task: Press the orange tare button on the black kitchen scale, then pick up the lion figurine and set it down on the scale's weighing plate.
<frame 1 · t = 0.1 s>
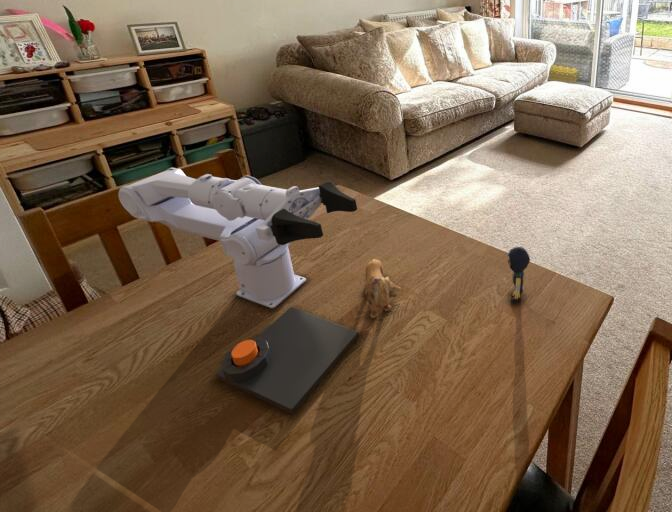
hand: (338, 217, 65), 22 cm above the table, tool horizontal, fingers open, 7 cm apart
tare button: (244, 352, 62), point 3 cm above the table, slide at 0.1 cm
scale: (292, 356, 65), on the table
character figure: (517, 299, 78), on the table
lion figurine: (381, 301, 77), on the table
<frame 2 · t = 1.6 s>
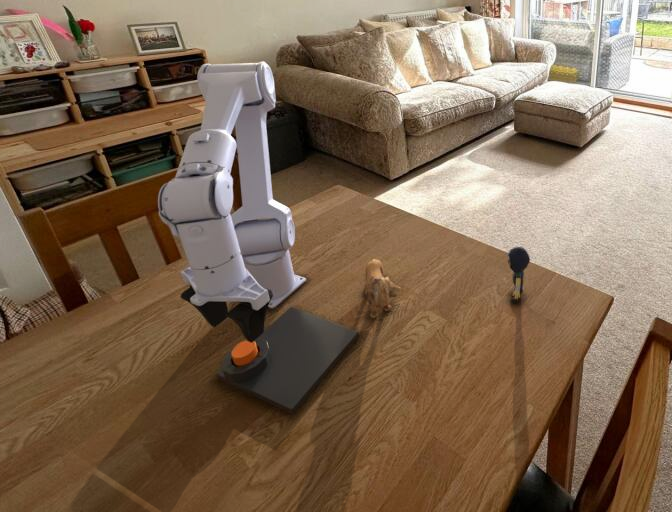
hand: (237, 329, 60), 8 cm above the table, tool pointing down, fingers open, 7 cm apart
nothing on the table moved.
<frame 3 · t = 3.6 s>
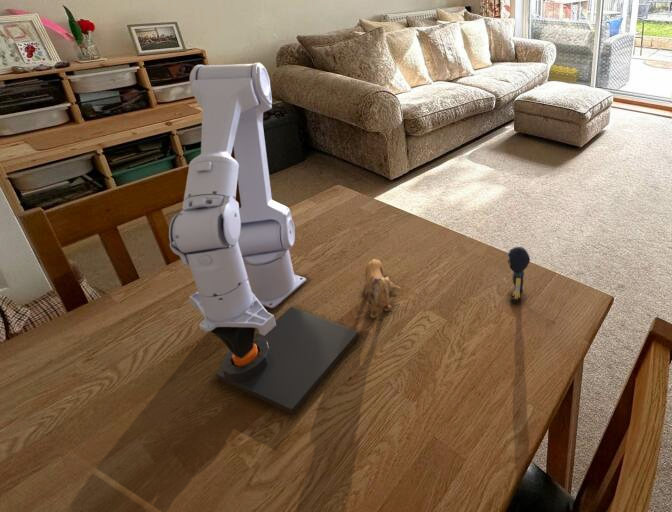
hand: (244, 351, 62), 4 cm above the table, tool pointing down, fingers closed, pressing on tare button
tare button: (245, 355, 62), point 3 cm above the table, slide at -0.4 cm, touching gripper
everything else where it was.
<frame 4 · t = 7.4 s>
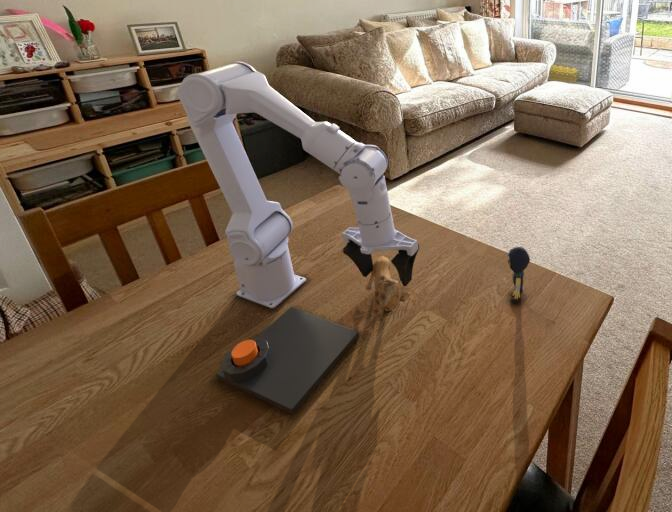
hand: (387, 277, 75), 6 cm above the table, tool pointing down
tare button: (244, 352, 62), point 3 cm above the table, slide at 0.1 cm
lion figurine: (381, 300, 77), on the table, touching gripper
everything else where it was.
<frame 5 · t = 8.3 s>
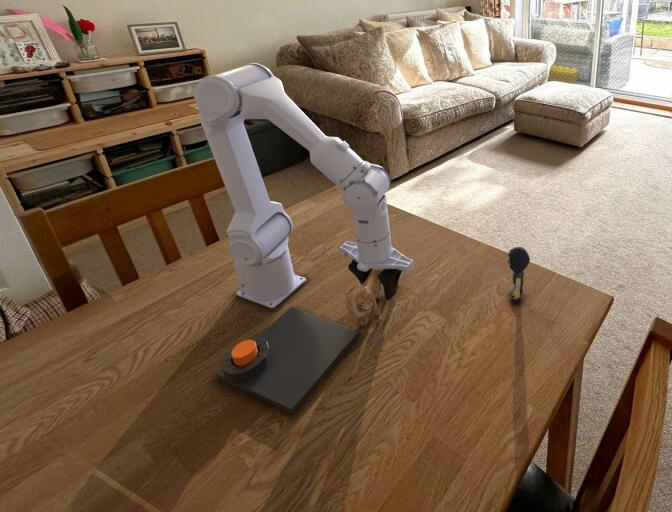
hand: (380, 293, 76), 2 cm above the table, tool pointing down, fingers closed on lion figurine, 4 cm apart
lion figurine: (381, 310, 74), on the table, touching gripper
everything else where it was.
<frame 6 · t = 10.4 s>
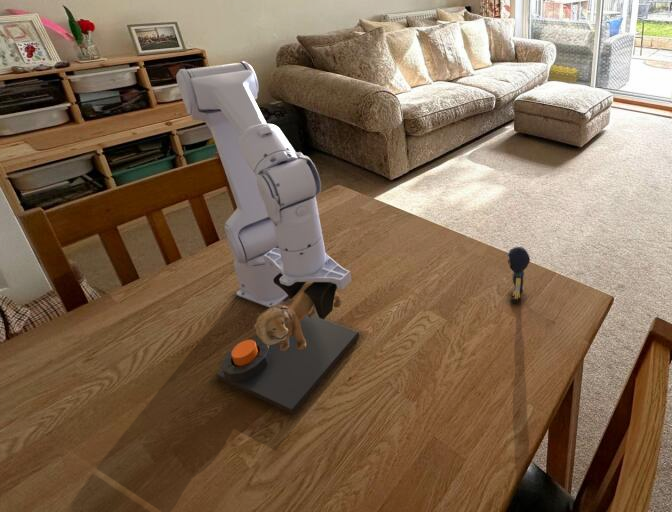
hand: (315, 310, 63), 9 cm above the table, tool pointing down, fingers closed on lion figurine, 4 cm apart
lion figurine: (310, 333, 61), point 7 cm above the table, touching gripper
everything else where it was.
when the fingers open (3 cm above the table, at t = 12.6 s): lion figurine stays where it is, resting on scale.
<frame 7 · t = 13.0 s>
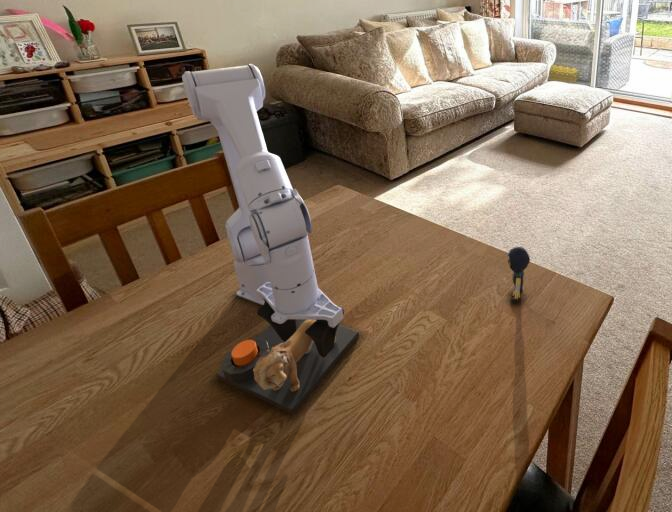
hand: (308, 343, 63), 4 cm above the table, tool pointing down, fingers open, 7 cm apart
lion figurine: (303, 372, 62), point 1 cm above the table, touching scale
everything else where it was.
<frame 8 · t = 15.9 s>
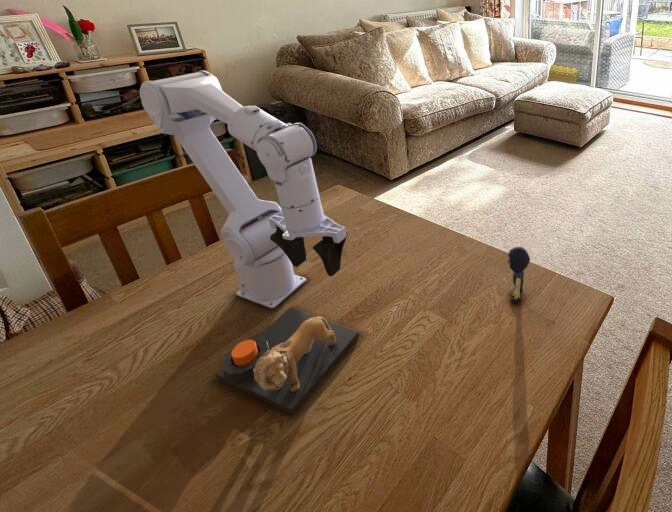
hand: (317, 267, 70), 10 cm above the table, tool pointing down, fingers open, 7 cm apart
nothing on the table moved.
at the end: tare button pushed in 1.2 cm at the most during the clip, back to where it started at the end; lion figurine inside the target area on the scale (2.2 cm from its centre), point 1.0 cm above the scale's base; lion figurine touching scale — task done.
